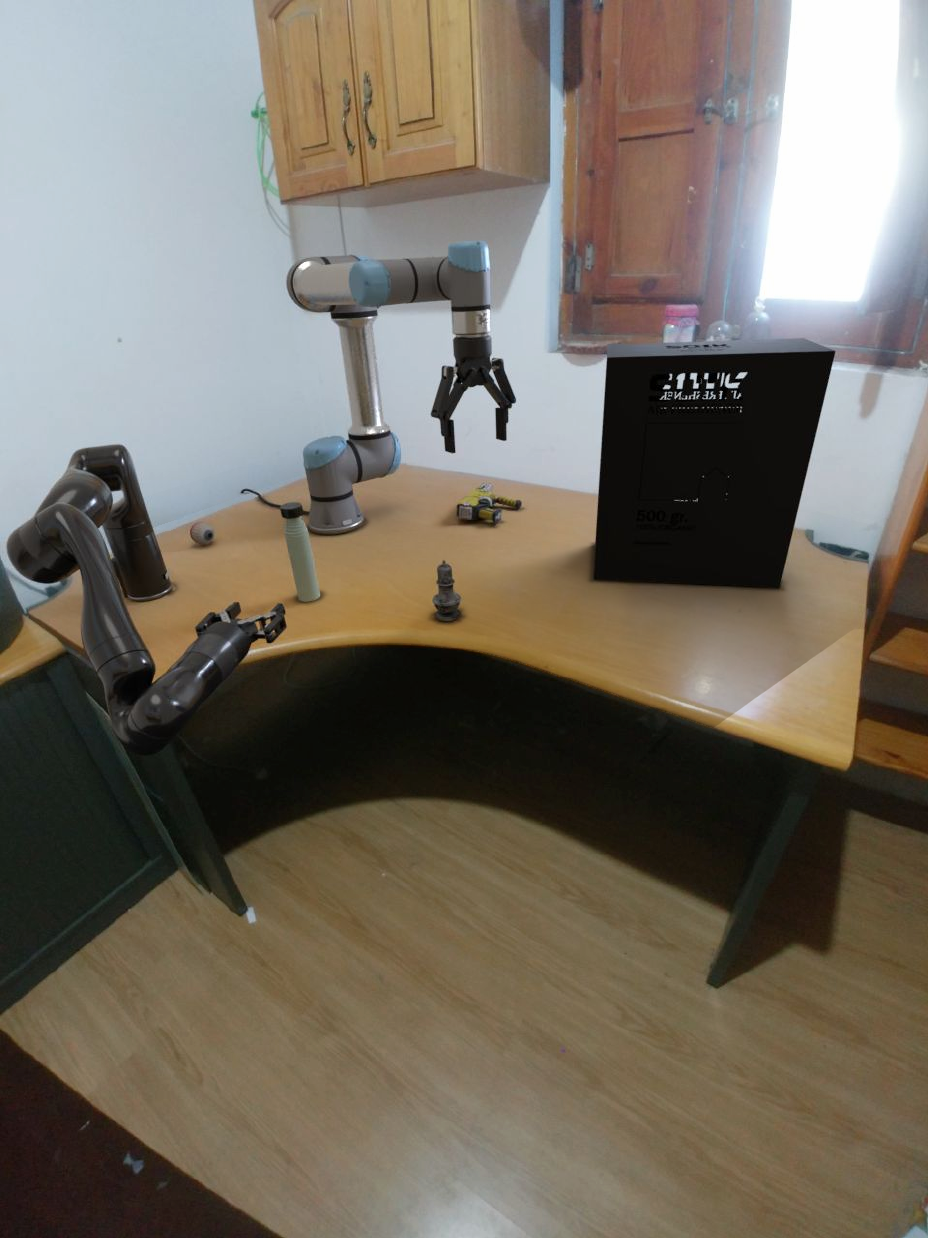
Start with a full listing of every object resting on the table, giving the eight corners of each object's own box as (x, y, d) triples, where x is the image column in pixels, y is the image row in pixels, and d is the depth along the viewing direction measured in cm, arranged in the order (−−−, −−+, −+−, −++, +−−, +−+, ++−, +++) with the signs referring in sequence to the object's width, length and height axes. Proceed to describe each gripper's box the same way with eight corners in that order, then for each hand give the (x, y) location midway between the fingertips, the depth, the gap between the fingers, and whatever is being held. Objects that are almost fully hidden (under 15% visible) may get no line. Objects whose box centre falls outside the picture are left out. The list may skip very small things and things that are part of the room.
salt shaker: (459, 622, 119) (455, 567, 113) (430, 620, 120) (425, 566, 114) (464, 608, 124) (461, 554, 118) (437, 606, 125) (432, 553, 119)
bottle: (315, 589, 135) (298, 501, 125) (323, 597, 132) (306, 507, 121) (295, 596, 133) (275, 507, 123) (303, 604, 129) (284, 513, 119)
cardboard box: (759, 548, 141) (803, 338, 119) (779, 587, 124) (835, 350, 102) (595, 543, 149) (607, 344, 126) (593, 579, 132) (607, 357, 109)
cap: (298, 509, 125) (297, 500, 124) (306, 515, 122) (305, 505, 121) (278, 514, 123) (276, 505, 122) (286, 520, 120) (284, 510, 119)
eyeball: (203, 550, 158) (197, 528, 155) (188, 545, 161) (182, 524, 158) (222, 541, 162) (216, 520, 159) (207, 538, 166) (201, 517, 163)
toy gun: (529, 487, 179) (482, 480, 183) (508, 512, 159) (455, 503, 163) (528, 503, 181) (481, 495, 185) (506, 528, 161) (454, 519, 165)
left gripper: (251, 636, 93) (292, 589, 107) (167, 633, 96) (218, 587, 109) (261, 676, 97) (300, 625, 111) (181, 672, 99) (229, 623, 113)
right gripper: (429, 342, 108) (437, 460, 118) (533, 329, 120) (532, 437, 131) (407, 340, 113) (417, 454, 124) (508, 328, 125) (510, 432, 136)
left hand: (259, 606), depth 110 cm, fingers open, 8 cm apart
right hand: (476, 445), depth 127 cm, fingers open, 13 cm apart
